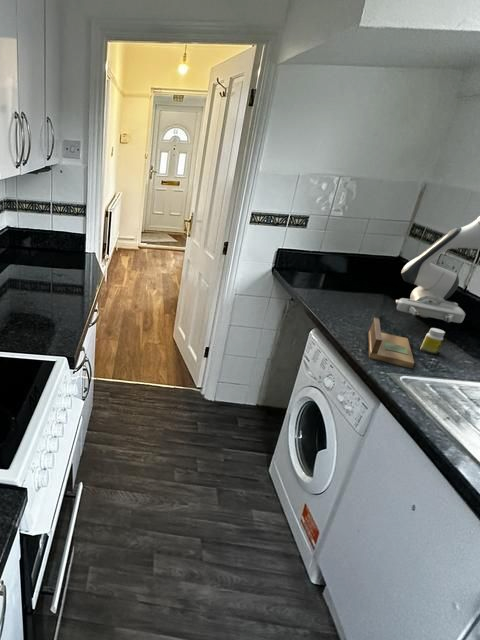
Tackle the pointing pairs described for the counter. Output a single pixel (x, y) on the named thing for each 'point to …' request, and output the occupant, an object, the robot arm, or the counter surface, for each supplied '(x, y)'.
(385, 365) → the counter surface
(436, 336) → the supplement bottle
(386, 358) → the oak shelf
